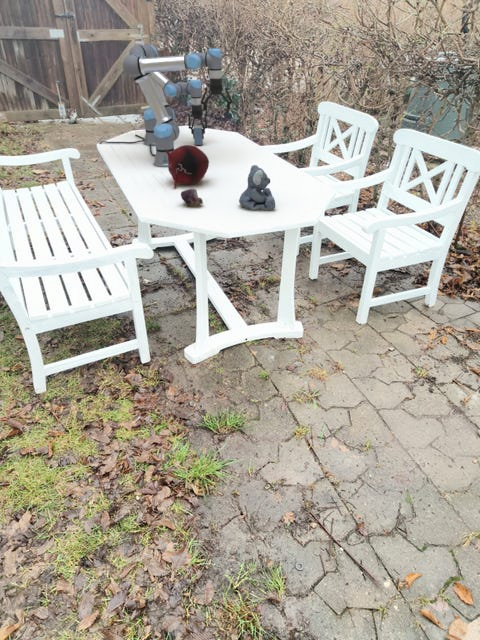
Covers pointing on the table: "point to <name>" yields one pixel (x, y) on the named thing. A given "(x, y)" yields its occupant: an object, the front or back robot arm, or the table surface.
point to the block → (198, 135)
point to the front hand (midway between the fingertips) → (217, 115)
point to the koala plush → (257, 191)
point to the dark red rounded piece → (187, 164)
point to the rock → (191, 197)
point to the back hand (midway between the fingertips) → (198, 138)
